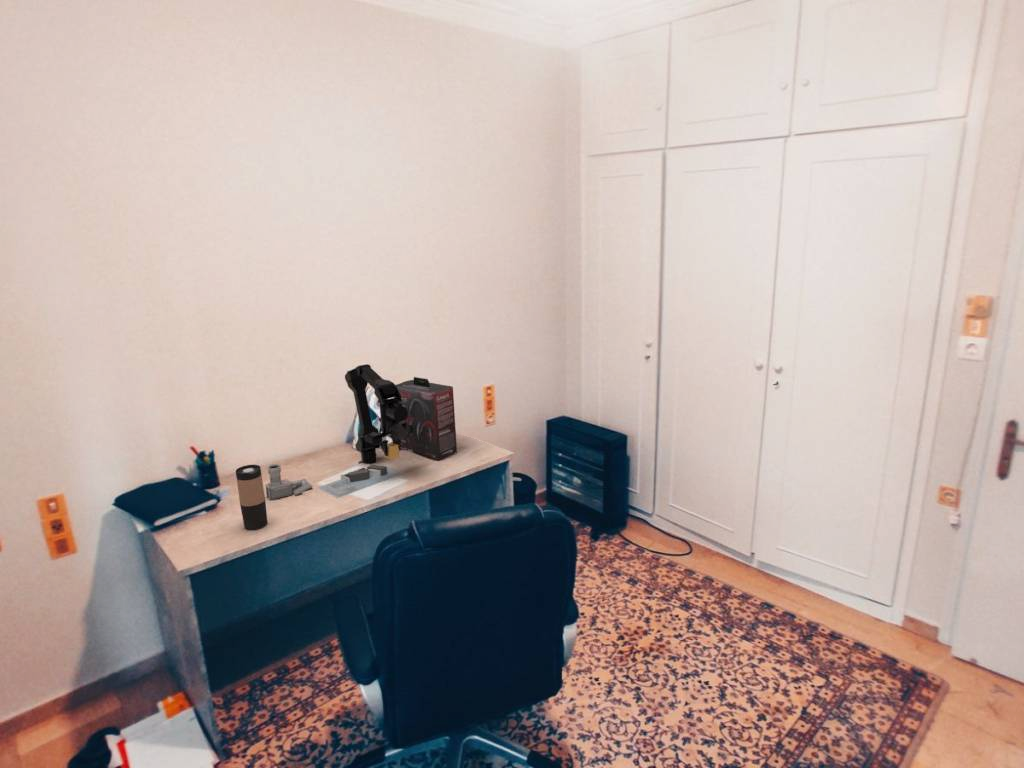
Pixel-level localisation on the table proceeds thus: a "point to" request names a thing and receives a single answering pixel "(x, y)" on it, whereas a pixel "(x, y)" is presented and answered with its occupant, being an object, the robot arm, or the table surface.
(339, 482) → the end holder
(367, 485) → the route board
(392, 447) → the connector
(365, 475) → the charcoal brick
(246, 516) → the travel mug
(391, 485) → the table surface
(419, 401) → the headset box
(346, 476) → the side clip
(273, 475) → the grey angular model part
